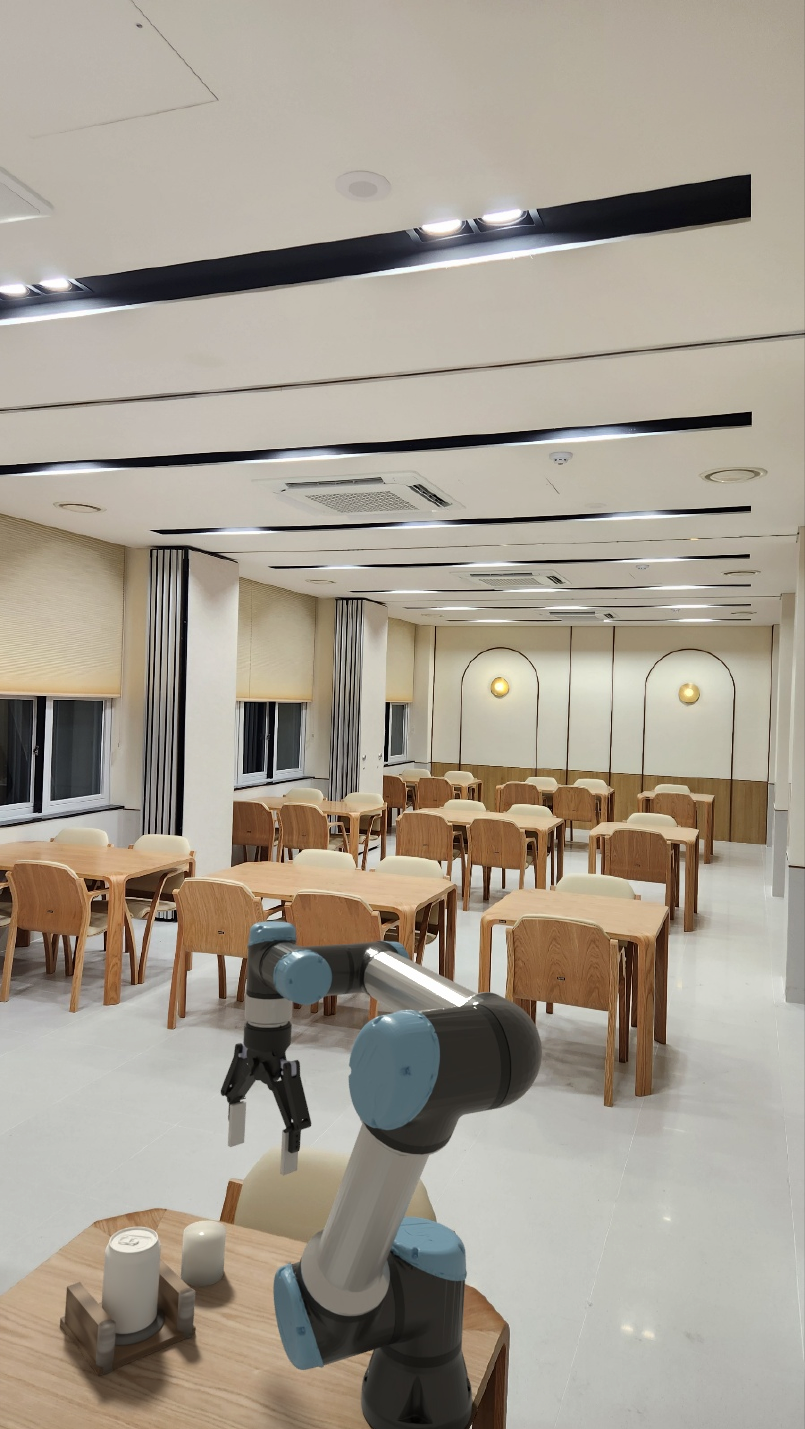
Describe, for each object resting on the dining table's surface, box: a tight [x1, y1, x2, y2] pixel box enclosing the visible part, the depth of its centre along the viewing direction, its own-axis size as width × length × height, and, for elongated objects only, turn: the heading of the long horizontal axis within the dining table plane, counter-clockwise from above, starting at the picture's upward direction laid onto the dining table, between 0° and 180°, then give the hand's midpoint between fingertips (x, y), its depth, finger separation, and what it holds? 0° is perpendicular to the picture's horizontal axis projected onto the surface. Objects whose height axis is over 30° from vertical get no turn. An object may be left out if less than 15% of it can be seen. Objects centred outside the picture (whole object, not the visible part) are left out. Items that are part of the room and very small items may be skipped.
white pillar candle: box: [180, 1220, 227, 1287], centre depth 151 cm, size 7×7×7 cm
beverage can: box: [101, 1226, 162, 1334], centre depth 136 cm, size 8×8×12 cm
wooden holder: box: [59, 1258, 197, 1377], centre depth 135 cm, size 14×15×6 cm
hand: (261, 1157), depth 142 cm, fingers open, 13 cm apart
